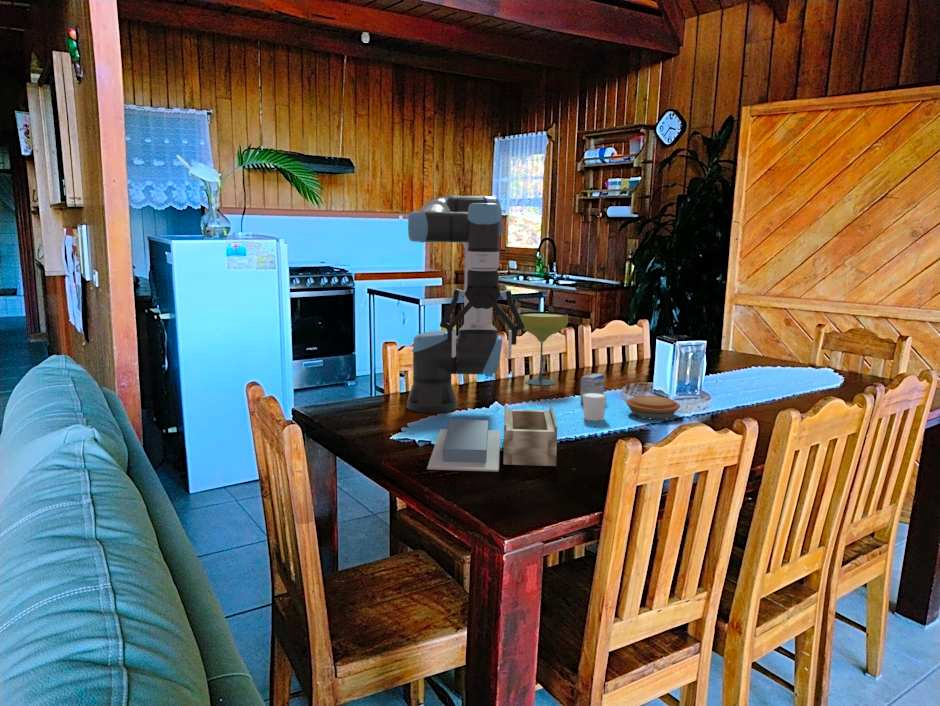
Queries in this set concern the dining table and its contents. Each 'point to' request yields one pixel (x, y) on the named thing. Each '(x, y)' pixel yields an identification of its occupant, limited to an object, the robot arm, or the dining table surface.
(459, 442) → the pale grey block
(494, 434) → the mat
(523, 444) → the wooden box
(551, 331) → the cocktail glass
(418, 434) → the dining table surface
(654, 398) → the pie
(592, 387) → the medicine box
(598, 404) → the white cup
